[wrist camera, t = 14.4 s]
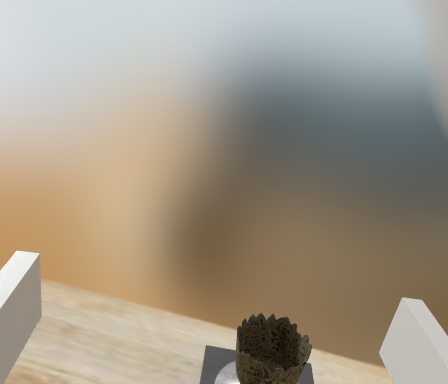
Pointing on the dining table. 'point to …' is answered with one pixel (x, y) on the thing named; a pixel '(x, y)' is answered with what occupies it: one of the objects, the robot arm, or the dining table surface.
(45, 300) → the dining table surface
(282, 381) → the cup
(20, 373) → the dining table surface
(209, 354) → the kitchen scale
